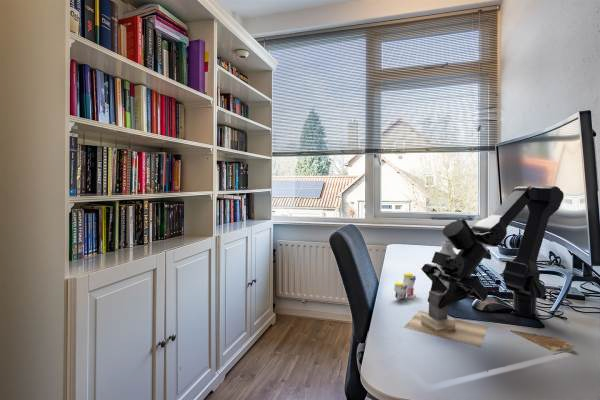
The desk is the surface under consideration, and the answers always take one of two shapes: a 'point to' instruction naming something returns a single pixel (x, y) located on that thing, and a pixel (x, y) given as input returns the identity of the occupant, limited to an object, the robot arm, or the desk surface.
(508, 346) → the desk surface
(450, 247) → the plastic bottle
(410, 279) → the toy figures
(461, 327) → the oak board
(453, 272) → the robot arm
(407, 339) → the desk surface
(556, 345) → the shard
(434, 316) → the grey block on base
